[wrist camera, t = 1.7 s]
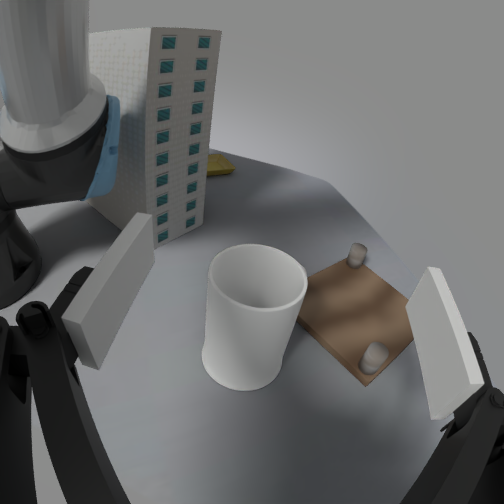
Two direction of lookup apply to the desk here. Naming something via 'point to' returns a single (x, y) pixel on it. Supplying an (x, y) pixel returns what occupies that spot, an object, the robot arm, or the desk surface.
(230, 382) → the mug
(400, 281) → the desk surface
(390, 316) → the board with corner pegs
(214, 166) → the yellow square slab
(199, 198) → the building model
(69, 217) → the desk surface
